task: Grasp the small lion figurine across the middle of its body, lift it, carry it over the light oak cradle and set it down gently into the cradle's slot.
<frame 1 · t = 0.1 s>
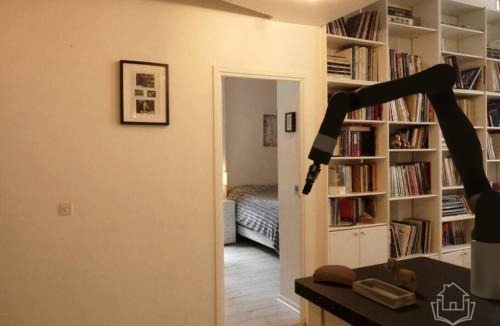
hand: (305, 193, 134), 31 cm above the table, tool tilted 20°, fingers open, 8 cm apart
lion figurine: (402, 289, 129), on the table
cradle: (382, 296, 121), on the table
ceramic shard: (337, 279, 140), on the table
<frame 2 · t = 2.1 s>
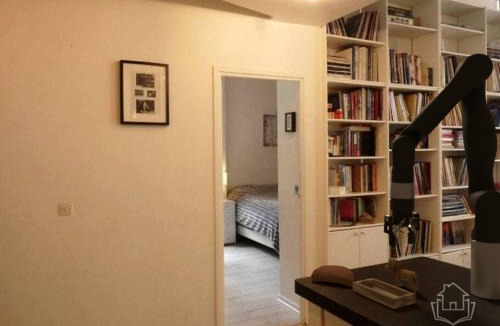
hand: (402, 245, 129), 14 cm above the table, tool pointing down, fingers open, 8 cm apart
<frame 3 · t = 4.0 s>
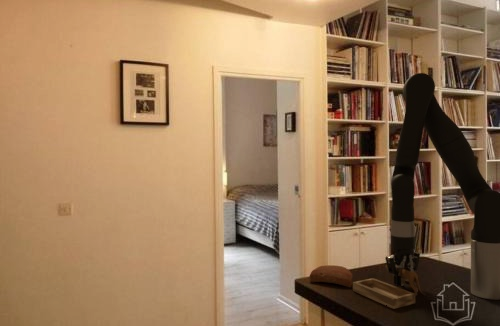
hand: (403, 284, 129), 1 cm above the table, tool pointing down, fingers closed on lion figurine, 4 cm apart
lion figurine: (404, 290, 128), on the table, touching gripper
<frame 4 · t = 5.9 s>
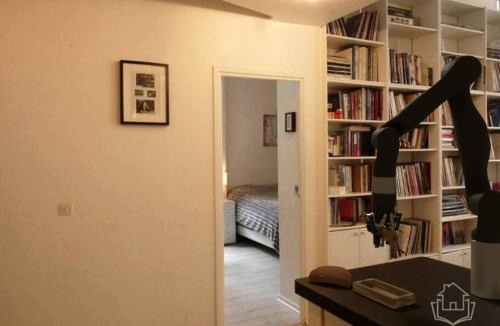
hand: (383, 245, 123), 16 cm above the table, tool pointing down, fingers closed on lion figurine, 4 cm apart
lion figurine: (383, 250, 122), point 15 cm above the table, touching gripper
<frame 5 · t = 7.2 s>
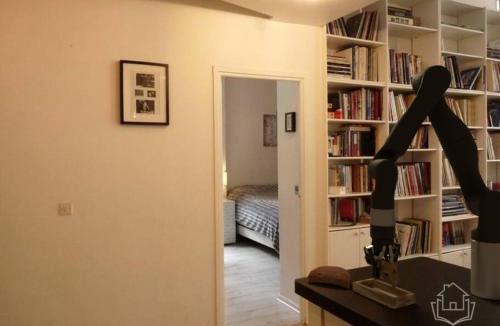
hand: (382, 277, 121), 6 cm above the table, tool pointing down, fingers closed on lion figurine, 4 cm apart
lion figurine: (383, 282, 120), point 5 cm above the table, touching gripper
when the fingers open (3 cm above the table, at t = 8.1 s): lion figurine stays where it is, resting on cradle.
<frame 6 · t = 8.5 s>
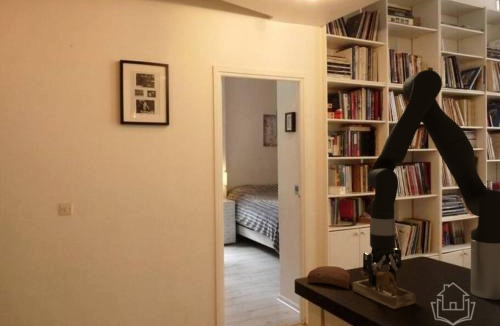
hand: (382, 283, 121), 4 cm above the table, tool pointing down, fingers open, 8 cm apart
lion figurine: (383, 294, 120), point 1 cm above the table, touching cradle
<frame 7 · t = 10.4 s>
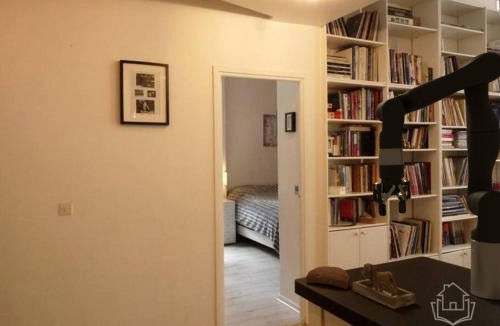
hand: (392, 214, 122), 26 cm above the table, tool pointing down, fingers open, 8 cm apart
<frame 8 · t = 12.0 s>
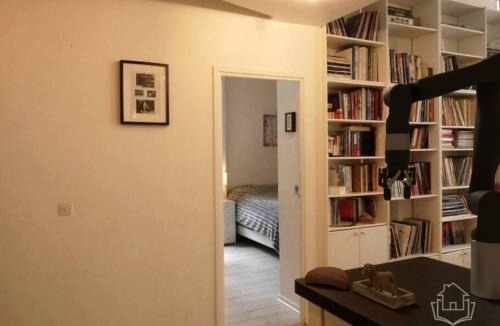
hand: (397, 199, 123), 30 cm above the table, tool pointing down, fingers open, 8 cm apart
at the end: lion figurine inside the target area on the cradle (1.3 cm from its centre), point 1.3 cm above the cradle's base; lion figurine tilted 12°; the gripper is holding nothing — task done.
